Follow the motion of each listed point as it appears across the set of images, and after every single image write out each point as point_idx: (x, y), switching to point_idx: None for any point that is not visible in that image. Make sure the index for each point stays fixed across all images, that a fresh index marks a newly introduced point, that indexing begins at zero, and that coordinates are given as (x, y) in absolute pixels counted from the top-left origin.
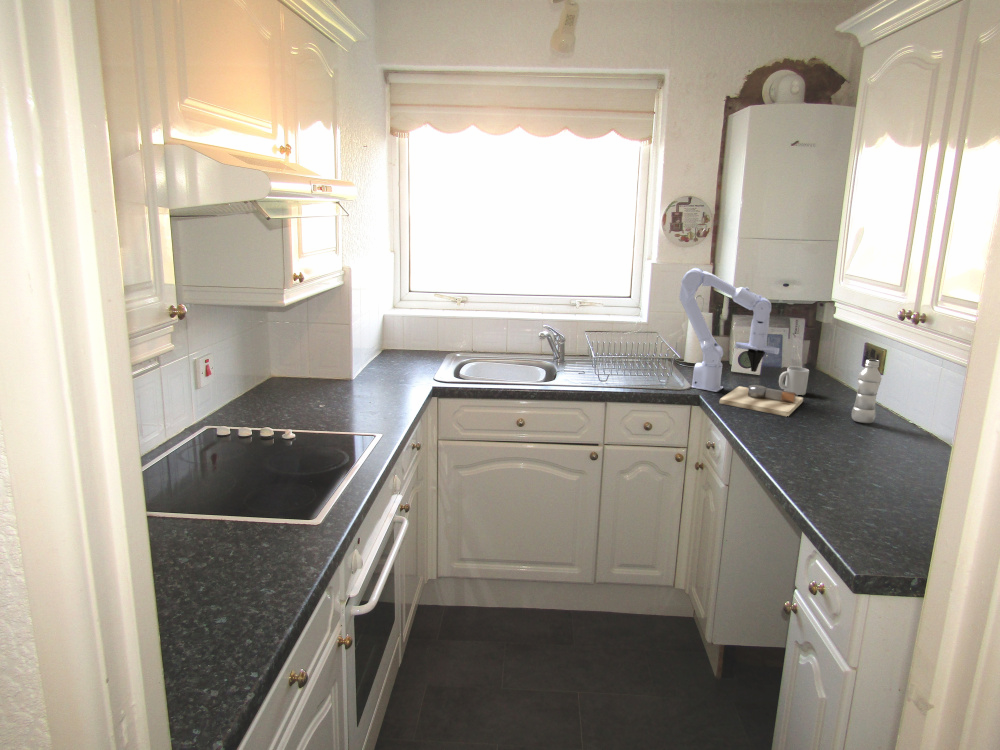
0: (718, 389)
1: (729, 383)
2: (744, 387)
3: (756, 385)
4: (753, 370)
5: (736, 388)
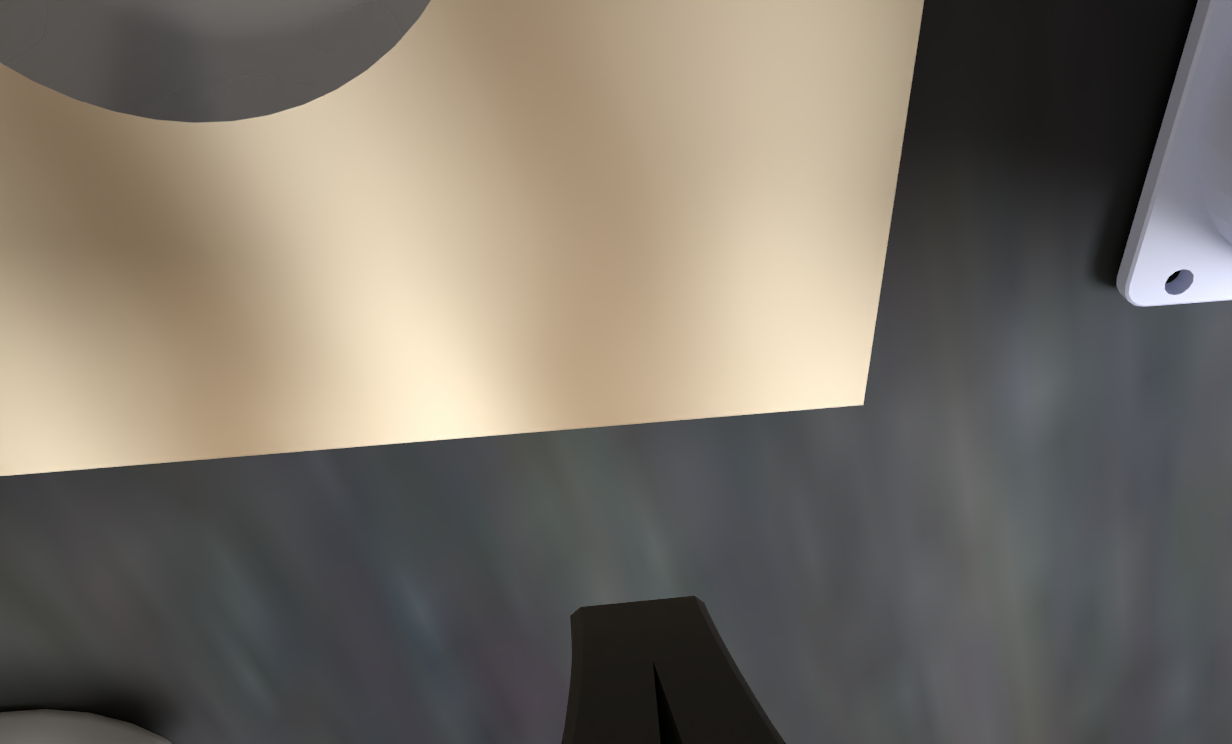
0: (1225, 3)
1: (1028, 614)
2: (744, 394)
3: (312, 44)
4: (630, 622)
5: (873, 202)
